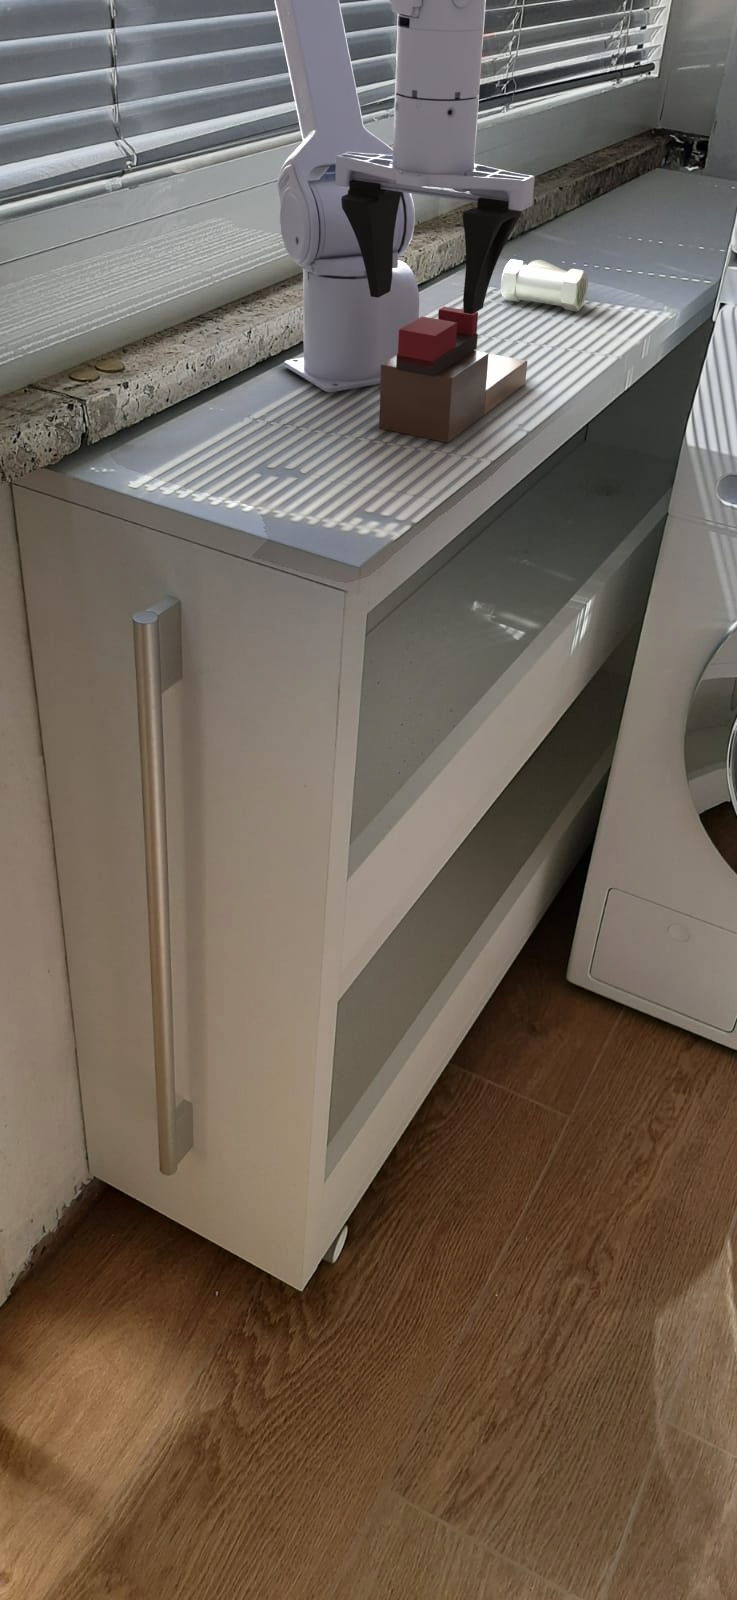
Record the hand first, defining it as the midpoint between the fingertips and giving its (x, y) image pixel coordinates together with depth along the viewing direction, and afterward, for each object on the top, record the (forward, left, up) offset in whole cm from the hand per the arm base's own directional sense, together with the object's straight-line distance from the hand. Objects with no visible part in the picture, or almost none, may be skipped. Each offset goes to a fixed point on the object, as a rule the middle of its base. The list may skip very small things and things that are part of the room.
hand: (426, 302), depth 93 cm
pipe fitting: (-31, -24, -10) cm, 41 cm away
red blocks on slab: (-2, -1, -5) cm, 5 cm away
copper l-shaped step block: (-6, -3, -10) cm, 12 cm away
